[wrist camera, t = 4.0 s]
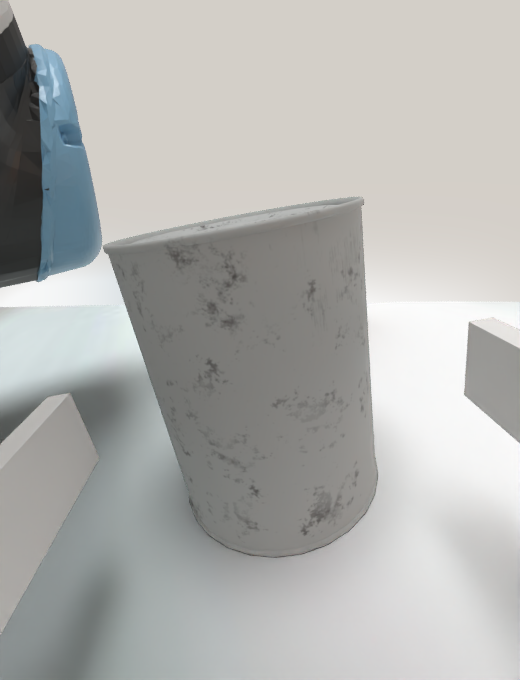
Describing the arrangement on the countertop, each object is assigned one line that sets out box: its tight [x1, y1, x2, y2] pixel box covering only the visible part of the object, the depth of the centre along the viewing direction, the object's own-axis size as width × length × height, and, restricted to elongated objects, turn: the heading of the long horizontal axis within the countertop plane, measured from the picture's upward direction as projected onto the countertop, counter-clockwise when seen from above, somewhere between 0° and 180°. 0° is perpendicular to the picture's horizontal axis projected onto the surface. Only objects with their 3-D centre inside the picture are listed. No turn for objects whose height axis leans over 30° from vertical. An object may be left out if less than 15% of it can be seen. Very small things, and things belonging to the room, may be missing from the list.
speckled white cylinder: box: [103, 197, 378, 557], centre depth 15 cm, size 10×10×12 cm
